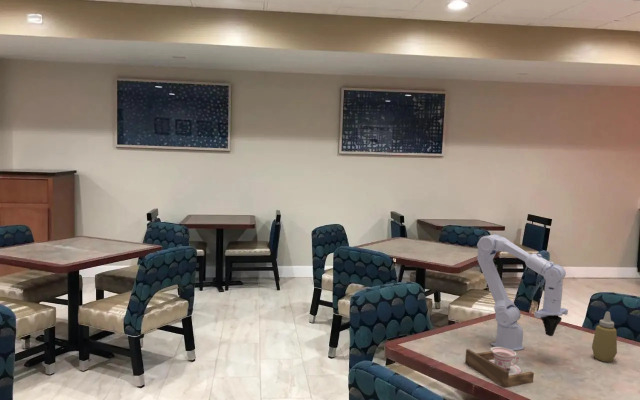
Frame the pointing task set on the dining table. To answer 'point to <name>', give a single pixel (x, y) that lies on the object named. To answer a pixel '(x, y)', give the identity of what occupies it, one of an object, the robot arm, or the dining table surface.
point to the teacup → (505, 359)
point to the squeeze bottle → (605, 340)
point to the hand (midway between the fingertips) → (549, 335)
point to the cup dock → (495, 369)
